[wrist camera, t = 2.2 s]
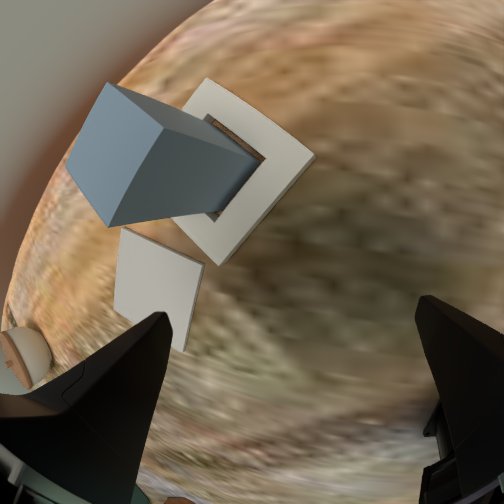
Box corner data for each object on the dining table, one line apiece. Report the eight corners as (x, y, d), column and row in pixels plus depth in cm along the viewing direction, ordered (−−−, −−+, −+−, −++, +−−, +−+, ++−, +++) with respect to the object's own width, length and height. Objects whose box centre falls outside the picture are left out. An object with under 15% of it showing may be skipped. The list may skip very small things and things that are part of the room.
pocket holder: (316, 157, 18) (314, 154, 17) (226, 262, 22) (218, 266, 21) (214, 83, 20) (206, 77, 18) (146, 180, 24) (136, 180, 22)
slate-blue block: (261, 162, 20) (164, 127, 9) (222, 210, 22) (107, 227, 11) (216, 127, 20) (107, 81, 9) (182, 173, 22) (64, 166, 11)
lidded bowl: (64, 364, 39) (23, 388, 28) (53, 377, 43) (20, 397, 33) (33, 309, 39) (-8, 326, 29) (27, 330, 44) (-7, 346, 34)
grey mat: (204, 264, 23) (202, 265, 23) (184, 350, 26) (182, 352, 26) (125, 227, 26) (121, 227, 25) (116, 307, 28) (113, 309, 28)
